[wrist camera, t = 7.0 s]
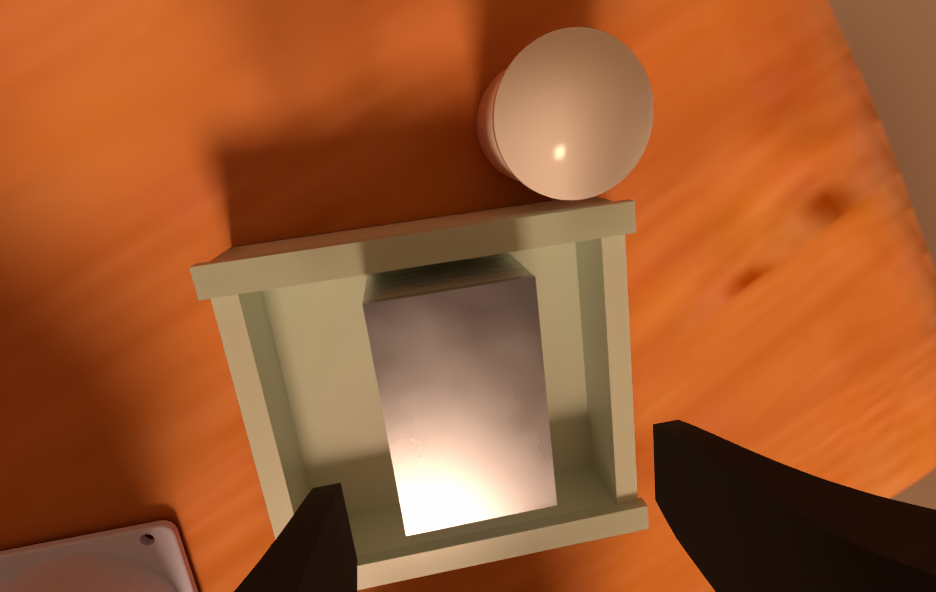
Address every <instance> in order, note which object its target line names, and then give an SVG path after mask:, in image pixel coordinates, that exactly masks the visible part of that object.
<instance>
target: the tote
mask: <svg viewBox="0 0 936 592" xmlns="http://www.w3.org/2000/svg"><path fill="white" fill-rule="evenodd" d="M631 233H636V215H635V201H633V200H629V199H628V200H621V201H611V200H607V199H603V198H599V197H595V196H594V197H591V198H586V199H582V200H560V199H558V200H551V201H544V202H537V203H530V204H524V205H517V206H510V207H503V208H496V209H490V210H483V211H476V212H469V213H462V214H455V215H449V216H442V217H435V218H428V219H421V220H415V221H408V222H401V223H394V224H387V225H380V226H374V227H367V228H360V229H353V230H346V231H340V232H333V233H326V234H319V235H312V236H306V237H299V238H292V239H285V240H278V241H271V242H265V243H258V244H251V245H244V246H237V247H231V248H230V249H228V250H227V251H225V252H224V253H222V254H221V255H219V256H218V257H216V258H214V259H213V260H211V261H210V262H204V263H197V264H194V265H192V266H191V267H189V268H190V271H191V275H192V279H193V282H194V286H195V289H196V293H197V297H198V300H205V299H211V302H212V306H213V309H214V313H215V317H216V321H217V324H218V328H219V332H220V335H221V339H222V343H223V347H224V350H225V354H226V358H227V361H228V365H229V369H230V373H231V376H232V380H233V384H234V387H235V391H236V395H237V399H238V402H239V406H240V410H241V413H242V417H243V421H244V425H245V428H246V432H247V436H248V439H249V443H250V447H251V451H252V454H253V458H254V462H255V465H256V469H257V473H258V476H259V480H260V484H261V488H262V491H263V495H264V499H265V502H266V506H267V510H268V514H269V517H270V521H271V525H272V528H273V532H274V536H275V540H276V538H277V537H278V536H279V534H280V533H281V532H282V530H283V529H284V527H285V526H286V525H287V523H288V522H289V520H290V519H291V518H292V516H293V515H294V513H295V512H296V510H297V509H298V508H299V506H300V505H301V503H302V502H303V500H304V499H305V498H306V496H307V495H308V494H309V492H310V491H311V490H312V488H315V487H320V486H326V485H331V484H336V483H341V486H342V491H343V495H344V500H345V505H346V509H347V514H348V518H349V523H350V528H351V532H352V537H353V542H354V546H355V551H356V555H357V590H361V589H366V588H371V587H375V586H380V585H385V584H390V583H394V582H399V581H404V580H408V579H413V578H418V577H423V576H427V575H432V574H437V573H442V572H446V571H451V570H456V569H460V568H465V567H470V566H475V565H479V564H484V563H489V562H494V561H498V560H503V559H508V558H512V557H517V556H522V555H527V554H531V553H536V552H541V551H546V550H550V549H555V548H560V547H564V546H569V545H574V544H579V543H583V542H588V541H593V540H598V539H602V538H607V537H612V536H617V535H621V534H626V533H631V532H635V531H640V530H645V529H649V528H648V506H647V504H646V503H645V502H644V500H643V499H642V498H638V496H637V475H636V454H635V433H634V412H633V391H632V369H631V348H630V327H629V306H628V285H627V264H626V242H625V234H631ZM502 253H509V254H511V255H512V256H513V257H514V258H515V259H516V260H517V261H518V262H519V263H521V264H522V265H523V266H524V267H525V268H526V269H527V270H528V271H529V272H531V273H532V274H533V275H534V276H535V278H536V288H537V299H538V309H539V320H540V330H541V341H542V351H543V362H544V372H545V383H546V393H547V404H548V414H549V425H550V435H551V446H552V456H553V467H554V477H555V488H556V498H557V505H556V506H551V507H546V508H541V509H536V510H531V511H526V512H521V513H517V514H512V515H507V516H502V517H497V518H492V519H487V520H482V521H477V522H472V523H467V524H462V525H458V526H453V527H448V528H443V529H438V530H433V531H428V532H423V533H418V534H413V535H408V536H406V533H405V527H404V522H403V517H402V511H401V506H400V501H399V496H398V490H397V485H396V480H395V474H394V469H393V464H392V459H391V453H390V448H389V443H388V437H387V432H386V427H385V422H384V416H383V411H382V406H381V400H380V395H379V390H378V385H377V379H376V374H375V369H374V363H373V358H372V353H371V347H370V342H369V337H368V332H367V326H366V321H365V316H364V310H363V305H362V304H363V297H364V291H365V285H366V278H367V274H373V273H379V272H386V271H392V270H399V269H405V268H412V267H418V266H424V265H431V264H437V263H444V262H450V261H457V260H463V259H470V258H476V257H482V256H489V255H495V254H502Z"/></svg>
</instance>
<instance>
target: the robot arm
mask: <svg viewBox="0 0 936 592" xmlns="http://www.w3.org/2000/svg"><path fill="white" fill-rule="evenodd" d="M653 438H654V470H655V500H656V502H657V504H658V506H659V507H660V509H661V511H662V513H663V515H664V517H665V519H666V521H667V522H668V524H669V526H670V528H671V529H672V531H673V533H674V534H675V536H676V538H677V539H678V541H679V542H680V544H681V545H682V547H683V548H684V549H685V551H686V552H687V553H688V555H689V556H690V558H691V559H692V560H693V562H694V563H695V564H696V566H697V567H698V568H699V570H700V571H701V573H702V574H703V575H704V577H705V578H706V579H707V581H708V582H709V583H710V585H711V586H712V587H713V589H714V590H715V591H716V592H936V510H934V509H930V508H925V507H921V506H917V505H912V504H909V503H905V502H900V501H896V500H892V499H888V498H884V497H881V496H877V495H873V494H870V493H866V492H863V491H859V490H856V489H853V488H850V487H847V486H843V485H840V484H837V483H834V482H830V481H827V480H825V479H822V478H819V477H816V476H813V475H810V474H808V473H805V472H802V471H800V470H797V469H794V468H792V467H789V466H787V465H784V464H781V463H779V462H776V461H774V460H772V459H769V458H767V457H764V456H762V455H760V454H757V453H755V452H753V451H750V450H748V449H746V448H743V447H741V446H739V445H737V444H734V443H732V442H730V441H728V440H725V439H723V438H721V437H719V436H716V435H714V434H712V433H710V432H707V431H705V430H703V429H700V428H698V427H696V426H693V425H691V424H688V423H686V422H683V421H680V420H675V421H669V422H664V423H658V424H653ZM144 534H150V535H152V536H153V537H154V539H149V538H147V537H146V536H145V535H144ZM0 592H198V590H197V587H196V584H195V581H194V577H193V574H192V571H191V568H190V565H189V562H188V559H187V556H186V553H185V550H184V547H183V544H182V541H181V538H180V535H179V532H178V529H177V527H176V525H175V524H174V523H172V522H170V521H167V520H160V521H155V522H150V523H145V524H139V525H134V526H129V527H124V528H119V529H113V530H108V531H103V532H98V533H93V534H87V535H82V536H77V537H72V538H67V539H61V540H56V541H51V542H46V543H41V544H35V545H30V546H25V547H20V548H15V549H9V550H4V551H0ZM234 592H357V555H356V551H355V546H354V542H353V537H352V532H351V528H350V523H349V518H348V514H347V509H346V505H345V500H344V495H343V491H342V486H341V483H336V484H331V485H326V486H320V487H315V488H312V490H311V491H310V492H309V494H308V495H307V496H306V498H305V499H304V500H303V502H302V503H301V505H300V506H299V508H298V509H297V510H296V512H295V513H294V515H293V516H292V518H291V519H290V520H289V522H288V523H287V525H286V526H285V527H284V529H283V530H282V532H281V533H280V534H279V536H278V537H277V538H276V540H275V541H274V542H273V544H272V545H271V546H270V548H269V549H268V550H267V552H266V553H265V554H264V556H263V557H262V558H261V560H260V561H259V562H258V563H257V565H256V566H255V567H254V568H253V569H252V571H251V572H250V573H249V574H248V576H247V577H246V578H245V579H244V580H243V582H242V583H241V584H240V585H239V586H238V588H237V589H236V590H235V591H234Z"/></svg>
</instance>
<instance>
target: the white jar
mask: <svg viewBox="0 0 936 592" xmlns="http://www.w3.org/2000/svg"><path fill="white" fill-rule="evenodd" d="M653 118H654V103H653V94H652V90H651V85H650V82H649V79H648V76H647V74H646V72H645V70H644V68H643V66H642V64H641V63H640V61H639V60H638V58H637V57H636V55H635V54H634V53H633V52H632V51H631V50H630V49H629V48H628V47H627V46H626V45H625V44H624V43H623V42H621V41H620V40H618V39H617V38H615V37H614V36H612V35H610V34H608V33H605V32H603V31H600V30H597V29H593V28H586V27H568V28H563V29H558V30H555V31H552V32H549V33H547V34H545V35H543V36H541V37H539V38H537V39H536V40H535V41H533V42H532V43H530V44H529V45H527V46H526V47H525V48H524V49H523V50H522V51H521V52H519V53H518V54H517V55H516V57H515V58H514V59H513V60H512V62H511V63H510V64H509V66H508V67H507V68H506V69H504V70H503V71H501V72H500V73H499V74H498V75H497V76H496V77H495V78H494V79H493V80H492V81H491V82H490V83H489V85H488V86H487V88H486V89H485V91H484V93H483V95H482V97H481V100H480V103H479V106H478V111H477V120H476V126H477V135H478V140H479V143H480V146H481V148H482V151H483V153H484V155H485V156H486V158H487V159H488V161H489V162H490V163H491V164H492V166H493V167H494V168H496V169H497V170H498V171H499V172H500V173H502V174H503V175H505V176H507V177H509V178H511V179H513V180H516V181H519V182H521V183H522V184H524V185H525V186H527V187H528V188H529V189H531V190H533V191H535V192H537V193H539V194H542V195H544V196H547V197H550V198H555V199H560V200H582V199H586V198H591V197H594V196H597V195H599V194H602V193H604V192H606V191H608V190H609V189H611V188H613V187H614V186H615V185H617V184H618V183H620V182H621V181H622V180H623V179H624V178H625V177H626V176H627V175H628V174H629V173H630V172H631V171H632V170H633V168H634V167H635V166H636V164H637V163H638V161H639V160H640V158H641V156H642V154H643V153H644V151H645V148H646V146H647V143H648V141H649V138H650V134H651V130H652V125H653Z"/></svg>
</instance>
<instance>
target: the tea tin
mask: <svg viewBox="0 0 936 592" xmlns="http://www.w3.org/2000/svg"><path fill="white" fill-rule="evenodd" d="M362 305H363V310H364V316H365V321H366V326H367V332H368V337H369V342H370V347H371V353H372V358H373V363H374V369H375V374H376V379H377V385H378V390H379V395H380V400H381V406H382V411H383V416H384V422H385V427H386V432H387V437H388V443H389V448H390V453H391V459H392V464H393V469H394V474H395V480H396V485H397V490H398V496H399V501H400V506H401V511H402V517H403V522H404V527H405V533H406V536H408V535H413V534H418V533H423V532H428V531H433V530H438V529H443V528H448V527H453V526H458V525H462V524H467V523H472V522H477V521H482V520H487V519H492V518H497V517H502V516H507V515H512V514H517V513H521V512H526V511H531V510H536V509H541V508H546V507H551V506H556V505H557V498H556V488H555V477H554V467H553V456H552V446H551V435H550V425H549V414H548V404H547V393H546V383H545V372H544V362H543V351H542V341H541V330H540V320H539V309H538V299H537V288H536V278H535V276H534V275H533V274H532V273H531V272H529V271H528V270H527V269H526V268H525V267H524V266H523V265H522V264H521V263H519V262H518V261H517V260H516V259H515V258H514V257H513V256H512V255H511V254H509V253H502V254H495V255H489V256H482V257H476V258H470V259H463V260H457V261H450V262H444V263H437V264H431V265H424V266H418V267H412V268H405V269H399V270H392V271H386V272H379V273H373V274H367V278H366V285H365V291H364V297H363V304H362Z"/></svg>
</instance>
